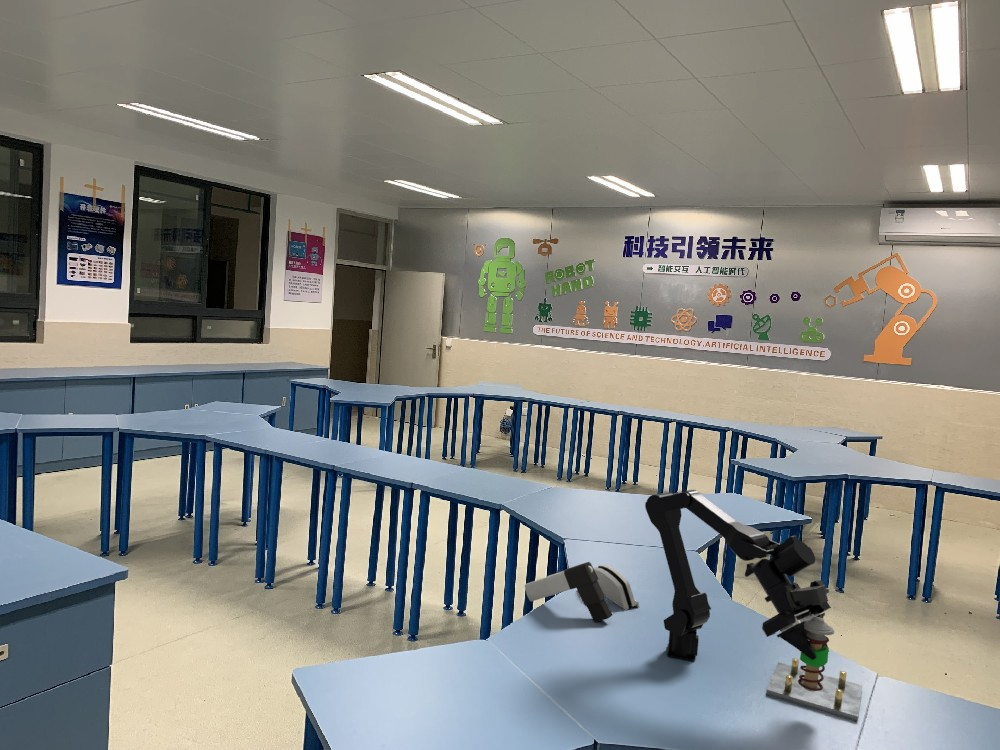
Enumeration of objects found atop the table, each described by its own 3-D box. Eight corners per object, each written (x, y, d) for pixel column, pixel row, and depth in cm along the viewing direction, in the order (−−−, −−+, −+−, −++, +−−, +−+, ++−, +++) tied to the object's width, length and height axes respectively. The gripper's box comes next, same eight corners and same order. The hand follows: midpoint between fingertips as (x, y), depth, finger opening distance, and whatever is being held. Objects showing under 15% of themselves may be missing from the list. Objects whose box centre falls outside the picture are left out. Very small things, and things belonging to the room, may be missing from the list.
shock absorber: (825, 686, 154) (834, 617, 153) (827, 699, 148) (836, 627, 147) (793, 678, 156) (801, 610, 155) (793, 691, 150) (802, 620, 149)
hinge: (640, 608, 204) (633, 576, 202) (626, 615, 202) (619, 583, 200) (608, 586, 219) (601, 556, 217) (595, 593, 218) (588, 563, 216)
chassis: (766, 694, 159) (767, 676, 159) (777, 667, 173) (779, 650, 173) (857, 721, 151) (859, 702, 150) (861, 690, 165) (863, 672, 164)
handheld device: (607, 619, 190) (585, 563, 193) (540, 637, 201) (521, 584, 204) (613, 614, 193) (592, 559, 196) (547, 633, 204) (528, 580, 207)
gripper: (782, 576, 147) (829, 651, 139) (826, 561, 159) (872, 629, 151) (743, 600, 154) (786, 673, 146) (788, 584, 166) (830, 651, 158)
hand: (820, 655), depth 150 cm, fingers closed on shock absorber, 5 cm apart
